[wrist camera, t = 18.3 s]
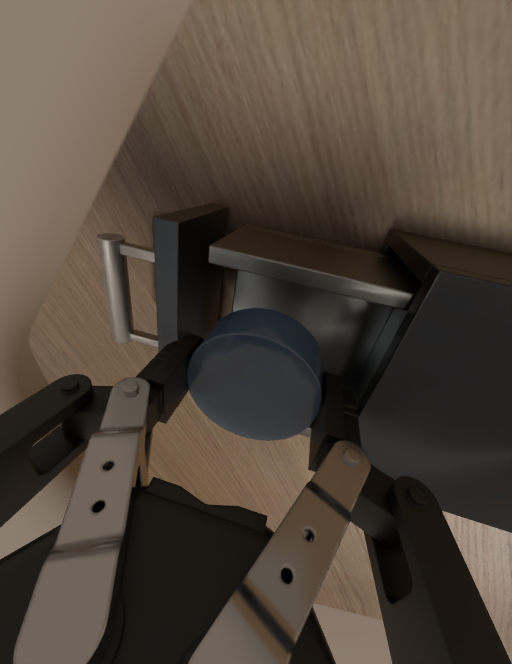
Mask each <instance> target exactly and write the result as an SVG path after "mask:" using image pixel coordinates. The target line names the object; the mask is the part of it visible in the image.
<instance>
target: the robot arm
mask: <svg viewBox="0 0 512 664" xmlns="http://www.w3.org/2000/svg"><path fill="white" fill-rule="evenodd" d="M203 340H204V338H203V337H200V336H197V335H193V334H187V335H186V336H185V337H184V338H183V340H182V341H181V342H180V341H176V340H175V341H173V342H171V343H169V344H167V345H166V346H165V347H164V348H163V349H162V350H161V351H160V353H158V354H157V355H156V356H155V358H153V359H152V360H151V361H150V362H149V363H148V365H147V366H146V367H145V368H144V369H143V370H142V371H141V372H140V373H139V374H138V375H137V376H136V377H130V378H126V379H123V380H121V381H119V382H118V383H116V384H115V385H114V386H92V383H91V380H90V379H89V378H88V377H87V376H84V375H79V374H74V375H68V376H65V377H62V378H60V379H58V380H56V381H54V382H53V383H51V384H50V385H48V386H46V387H45V388H43V389H41V390H40V391H38V392H37V393H35V394H33V395H32V396H30V397H29V398H27V399H25V400H24V401H22V402H20V403H19V404H17V405H16V406H14V407H12V408H11V409H9V410H8V411H6V412H4V413H3V414H1V415H0V527H1V526H3V524H5V523H6V522H7V521H8V520H9V519H10V518H11V517H12V516H13V515H14V514H16V512H18V511H19V510H20V509H21V508H22V507H23V506H24V505H25V504H26V503H28V502H29V501H30V500H31V499H32V498H33V497H34V496H35V495H36V494H37V493H38V492H39V491H41V490H42V489H43V488H44V487H45V486H46V485H47V484H48V483H49V482H50V481H51V480H52V479H54V478H55V477H56V476H57V475H58V474H59V473H60V472H61V471H62V470H63V469H64V468H66V467H67V466H68V465H69V464H70V463H71V462H72V461H73V460H74V459H75V458H76V457H77V456H78V455H80V454H81V453H82V452H83V451H84V450H85V449H86V448H87V449H86V452H85V455H84V458H83V461H82V464H81V467H80V470H79V473H78V476H77V479H76V482H75V485H74V488H73V491H72V494H71V497H70V501H69V503H68V506H67V509H66V512H65V516H64V518H63V521H62V524H61V525H59V526H57V527H56V528H54V529H52V530H51V531H49V532H47V533H45V534H44V535H42V536H40V537H38V538H37V539H35V540H33V541H31V542H30V543H28V544H26V545H25V546H23V547H21V548H19V549H18V550H16V551H14V552H12V553H11V554H9V555H8V556H6V557H4V558H2V559H1V560H0V664H336V663H335V660H334V658H333V655H332V653H331V650H330V648H329V646H328V643H327V641H326V638H325V636H324V633H323V631H322V628H321V626H320V624H319V621H318V619H317V617H316V614H315V611H314V609H313V604H314V601H315V599H316V597H317V595H318V592H319V590H320V588H321V586H322V583H323V581H324V579H325V577H326V574H327V572H328V570H329V568H330V565H331V563H332V561H333V559H334V556H335V554H336V552H337V550H338V547H339V545H340V543H341V541H342V538H343V536H344V534H345V531H346V529H347V527H348V525H349V522H350V521H351V522H352V523H354V524H355V525H356V526H358V527H359V528H361V529H362V530H363V531H364V535H365V540H366V544H367V549H368V553H369V558H370V562H371V567H372V572H373V576H374V581H375V585H376V590H377V595H378V599H379V604H380V608H381V613H382V618H383V622H384V627H385V631H386V636H387V640H388V645H389V650H390V654H391V659H392V664H511V661H510V659H509V657H508V655H507V652H506V650H505V648H504V646H503V644H502V641H501V639H500V637H499V635H498V633H497V631H496V628H495V626H494V624H493V622H492V620H491V617H490V615H489V613H488V611H487V609H486V607H485V604H484V602H483V600H482V598H481V596H480V593H479V591H478V589H477V587H476V585H475V582H474V580H473V578H472V576H471V574H470V572H469V569H468V567H467V565H466V563H465V561H464V558H463V556H462V554H461V552H460V550H459V548H458V545H457V543H456V541H455V539H454V537H453V534H452V532H451V530H450V528H449V526H448V523H447V521H446V519H445V517H444V515H443V513H442V510H441V508H440V506H439V504H438V502H437V500H436V498H435V496H434V495H433V493H432V492H431V491H430V490H429V489H428V488H427V487H426V486H425V485H424V484H423V483H422V482H420V481H419V480H417V479H415V478H412V477H409V476H401V477H399V478H397V479H396V480H395V479H393V478H391V477H390V476H388V475H387V474H385V473H383V472H382V471H380V470H379V469H377V468H376V467H375V466H373V465H372V464H371V461H370V458H369V456H368V455H367V453H366V452H365V451H364V449H362V445H361V437H360V429H359V421H358V412H357V404H356V398H355V397H354V395H353V393H352V392H351V390H350V389H347V388H343V387H342V376H341V375H337V374H333V373H330V372H326V371H325V373H324V375H323V386H322V404H321V407H320V410H319V412H318V415H317V417H316V419H315V420H314V422H313V423H312V424H311V439H310V453H309V467H308V470H311V471H314V472H316V473H315V474H314V476H313V477H312V479H311V480H310V482H308V483H307V484H306V486H305V487H304V489H303V490H302V492H301V493H300V495H299V496H298V498H297V499H296V501H295V502H294V504H293V505H292V507H291V508H290V510H289V512H288V513H287V515H286V516H285V518H284V519H283V521H282V522H281V524H280V525H279V527H278V528H277V530H276V531H275V533H274V532H273V531H272V530H271V529H269V528H268V527H267V526H266V521H267V516H265V515H263V514H260V513H257V512H254V511H251V510H248V509H245V508H242V507H239V506H224V505H207V504H205V503H203V502H202V501H200V500H199V499H197V498H196V497H195V496H193V495H192V494H191V493H189V492H188V491H186V490H185V489H184V488H182V487H181V486H178V485H175V484H172V483H170V482H167V481H164V480H161V479H158V478H155V477H153V479H152V481H151V482H150V484H149V486H148V472H149V463H150V454H151V446H152V437H153V427H154V426H155V425H156V423H157V422H158V421H159V422H162V423H165V424H166V423H167V421H168V420H169V418H170V417H171V415H172V414H173V412H174V410H175V409H176V407H177V406H178V404H179V403H180V401H181V400H182V398H183V397H184V395H185V394H186V392H187V391H188V389H189V388H188V384H187V368H188V363H189V360H190V358H191V356H192V355H193V353H194V351H195V350H196V349H197V347H198V346H199V345H200V344H201V342H202V341H203ZM58 425H60V426H59V427H57V428H56V429H55V430H54V431H52V432H51V433H50V434H48V435H47V436H46V437H45V438H43V439H42V440H41V441H39V442H38V443H37V444H35V445H34V446H33V444H34V443H36V442H37V441H38V440H39V439H40V438H42V437H43V436H45V435H46V434H47V433H49V431H51V430H52V429H54V428H55V427H56V426H58ZM32 446H33V447H32Z"/></svg>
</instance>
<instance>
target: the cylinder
mask: <svg viewBox="0 0 512 664" xmlns="http://www.w3.org/2000/svg"><path fill="white" fill-rule="evenodd" d="M187 384H188V388H189V391H190V394H191V396H192V398H193V400H194V401H195V403H196V404H197V406H198V407H199V408H200V410H201V411H202V412H203V413H204V414H205V415H206V416H207V417H208V418H209V419H210V420H212V421H213V422H214V423H216V424H217V425H219V426H220V427H222V428H224V429H226V430H228V431H229V432H232V433H234V434H237V435H239V436H243V437H246V438H250V439H256V440H267V441H270V440H281V439H286V438H290V437H292V436H295V435H297V434H299V433H301V432H303V431H304V430H306V429H307V428H308V427H309V426H310V425H311V424H312V423H313V422H314V420H315V419H316V417H317V415H318V412H319V410H320V407H321V404H322V386H323V357H322V353H321V350H320V347H319V345H318V343H317V341H316V340H315V338H314V337H313V335H312V334H311V333H310V332H309V331H308V330H307V329H306V328H305V327H304V326H303V325H302V324H301V323H299V322H298V321H296V320H295V319H293V318H292V317H290V316H288V315H286V314H283V313H281V312H278V311H274V310H271V309H264V308H248V309H242V310H238V311H235V312H232V313H230V314H228V315H226V316H225V317H223V318H222V319H221V320H219V321H218V322H217V323H216V324H215V325H214V327H213V328H212V329H211V331H210V332H209V333H208V334H207V336H206V337H205V338H204V340H203V341H202V342H201V344H200V345H199V346H198V347H197V349H196V350H195V351H194V353H193V355H192V356H191V358H190V360H189V363H188V368H187Z"/></svg>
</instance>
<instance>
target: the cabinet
mask: <svg viewBox="0 0 512 664" xmlns="http://www.w3.org/2000/svg"><path fill="white" fill-rule="evenodd" d="M380 253H381V254H386V255H390V256H395V257H399V258H400V259H401V260H402V261H403V262H404V263H405V264H406V266H407V267H408V268H409V269H410V270H411V271H412V273H413V274H414V275H415V276H416V277H417V278H418V279H419V281H420V282H421V283H422V285H421V287H420V289H419V291H418V293H417V294H416V296H415V298H414V300H413V302H412V304H411V306H410V308H409V310H408V311H407V313H406V315H405V317H404V319H403V321H402V323H401V325H400V326H399V328H398V330H397V332H396V334H395V336H394V338H393V340H392V341H391V343H390V345H389V347H388V349H387V351H386V353H385V355H384V357H383V358H382V360H381V362H380V364H379V366H378V368H377V370H376V372H375V373H374V375H373V377H372V379H371V381H370V383H369V385H368V387H367V388H366V390H365V392H364V394H363V396H362V398H361V400H360V402H359V404H358V405H357V412H358V421H359V429H360V437H361V445H362V449H364V451H365V452H366V453H367V455H368V456H369V458H370V461H371V464H372V465H373V466H375V467H376V468H377V469H379V470H380V471H382V472H383V473H385V474H387V475H388V476H390V477H391V478H393V479H395V480H396V479H397V478H399V477H401V476H409V477H412V478H415V479H417V480H419V481H420V482H422V483H423V484H424V485H425V486H426V487H427V488H428V489H429V490H430V491H431V492H432V493H433V495H434V496H435V498H436V500H437V502H438V504H439V506H440V508H441V510H442V511H445V512H448V513H451V514H454V515H457V516H461V517H464V518H467V519H470V520H473V521H476V522H479V523H483V524H486V525H489V526H492V527H495V528H498V529H501V530H505V531H508V532H511V533H512V254H511V253H506V252H501V251H497V250H492V249H487V248H482V247H478V246H473V245H468V244H463V243H458V242H454V241H449V240H444V239H439V238H435V237H430V236H425V235H420V234H416V233H411V232H406V231H401V230H397V229H392V228H391V229H390V230H389V233H388V235H387V238H386V240H385V242H384V245H383V247H382V250H381V252H380Z"/></svg>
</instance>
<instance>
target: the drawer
mask: <svg viewBox="0 0 512 664" xmlns="http://www.w3.org/2000/svg"><path fill="white" fill-rule="evenodd" d="M228 212H229V207H228V206H223V205H219V204H214V203H210V204H206V205H201V206H197V207H193V208H189V209H185V210H180V211H176V212H172V213H168V214H163V215H159V216H155V217H153V235H154V249H152V248H148V247H143V246H139V245H135V244H131V243H127V242H125V238H124V237H123V236H122V235H118V234H111V233H106V234H100V235H97V242H98V248H99V255H100V261H101V268H102V274H103V281H104V287H105V294H106V300H107V307H108V313H109V320H110V326H111V333H112V339H113V341H114V342H116V343H121V344H123V343H128V342H131V341H135V342H138V343H142V344H145V345H149V346H152V347H156V348H158V351H159V353H160V351H161V350H162V349H163V348H164V347H165V346H166V345H167V344H169V343H171V342H173V341H175V340H176V341H180V342H181V341H182V340H183V338H184V337H185V336H186V335H187V334H193V335H197V336H200V337H203V338H205V337H206V336H207V334H208V333H209V332H210V331H211V329H212V328H213V327H214V325H215V324H216V323H217V322H218V313H219V303H220V293H221V283H222V273H223V266H224V267H229V268H233V269H237V276H236V283H235V291H234V299H233V307H232V312H235V311H238V310H242V309H248V308H264V309H271V310H274V311H278V312H281V313H283V314H286V315H288V316H290V317H292V318H293V319H295V320H296V321H298V322H299V323H301V324H302V325H303V326H304V327H305V328H306V329H307V330H308V331H309V332H310V333H311V334H312V335H313V337H314V338H315V340H316V341H317V343H318V345H319V347H320V350H321V353H322V357H323V375H324V373H325V371H326V372H330V373H333V374H337V375H341V376H342V387H343V388H347V389H350V390H351V392H352V393H353V395H354V397H355V398H356V404H357V405H358V404H359V402H360V400H361V398H362V396H363V394H364V392H365V390H366V388H367V387H368V385H369V383H370V381H371V379H372V377H373V375H374V373H375V372H376V370H377V368H378V366H379V364H380V362H381V360H382V358H383V357H384V355H385V353H386V351H387V349H388V347H389V345H390V343H391V341H392V340H393V338H394V336H395V334H396V332H397V330H398V328H399V326H400V325H401V323H402V321H403V319H404V317H405V315H406V313H407V311H408V310H409V308H410V306H411V304H412V302H413V300H414V298H415V296H416V294H417V293H418V291H419V289H420V287H421V285H422V283H421V282H420V281H419V279H418V278H417V277H416V276H415V275H414V274H413V273H412V271H411V270H410V269H409V268H408V267H407V266H406V264H405V263H404V262H403V261H402V260H401V259H400V258H399V257H395V256H390V255H386V254H381V253H377V252H372V251H368V250H363V249H359V248H354V247H350V246H345V245H341V244H336V243H332V242H327V241H323V240H318V239H314V238H309V237H305V236H300V235H296V234H291V233H287V232H282V231H277V230H273V229H268V228H264V227H259V226H255V225H250V224H245V225H243V226H242V227H240V228H239V229H237V230H235V231H233V232H232V233H230V234H228V235H227V236H226V232H227V222H228ZM127 256H129V257H133V258H137V259H142V260H146V261H150V262H154V263H155V281H156V304H157V328H158V336H156V335H152V334H149V333H145V332H142V331H138V330H134V326H133V316H132V306H131V296H130V286H129V276H128V266H127ZM188 390H189V389H188ZM187 392H188V391H187ZM187 392H186V393H187ZM185 395H186V394H185ZM185 395H184V396H185ZM183 398H184V397H183ZM183 398H182V399H183ZM181 401H182V400H181ZM181 401H180V402H181ZM179 404H180V403H179ZM179 404H178V406H179ZM178 406H177V407H178ZM299 434H301V435H304V436H307V437H311V425H310V426H309V427H308V428H307V429H306V430H304V431H303V432H301V433H299Z"/></svg>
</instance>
